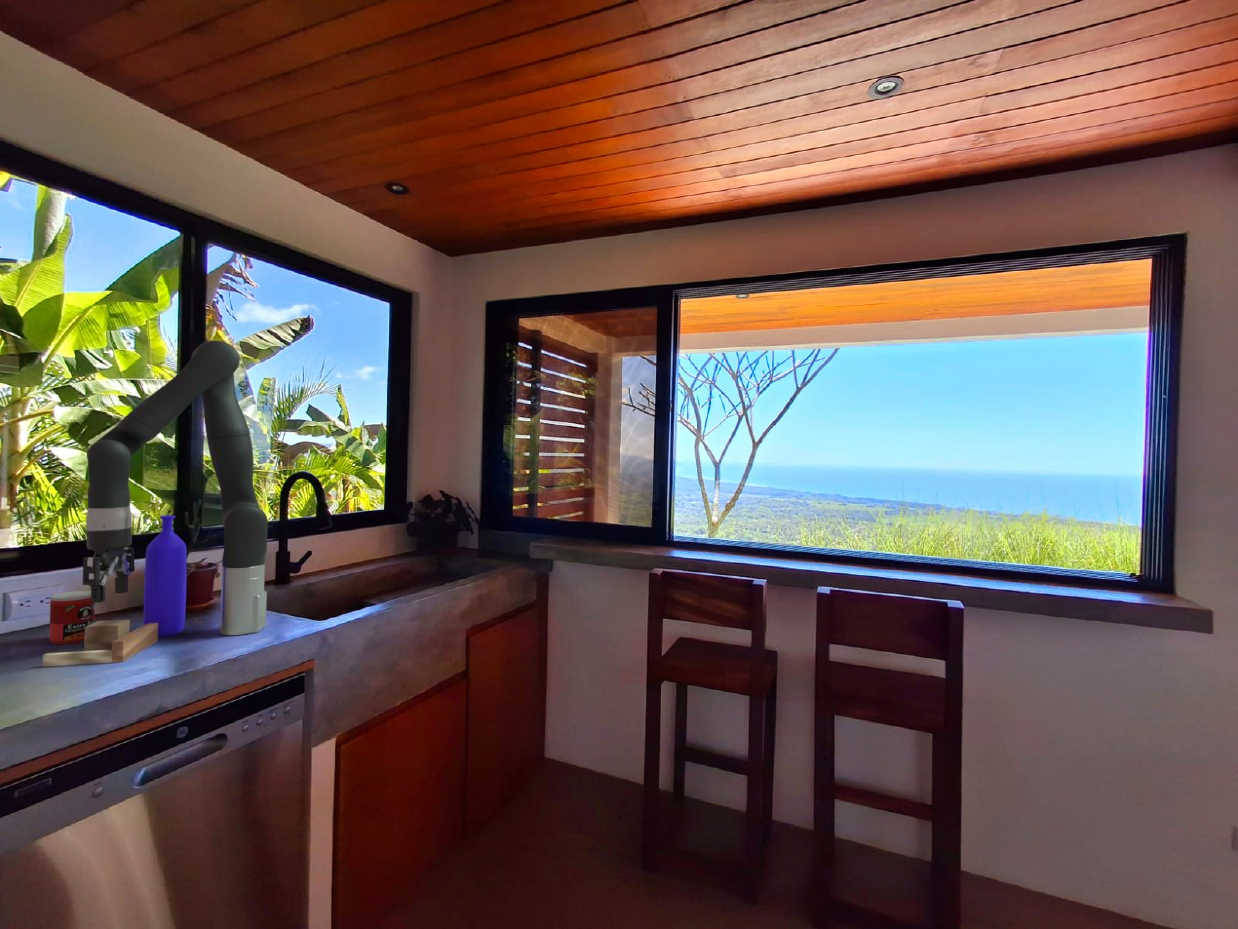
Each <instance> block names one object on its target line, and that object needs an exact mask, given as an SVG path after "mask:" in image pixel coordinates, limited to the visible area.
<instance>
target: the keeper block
mask: <svg viewBox="0 0 1238 929" xmlns="http://www.w3.org/2000/svg"><path fill="white" fill-rule="evenodd" d="M130 623H131V621H130V619H117V620H116V619H114V620H113V619H111V620H97V621H94V623H93V624H91V625H88V626H86V627H85V646H84V650H83V651H98V650H112V642H113V641H115V640H117V639H119V638H121V637H123V636H125V635H127V634H129V632H131V631H130V630H131V629H130V627H131V626H130V625H131V624H130Z"/></svg>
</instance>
